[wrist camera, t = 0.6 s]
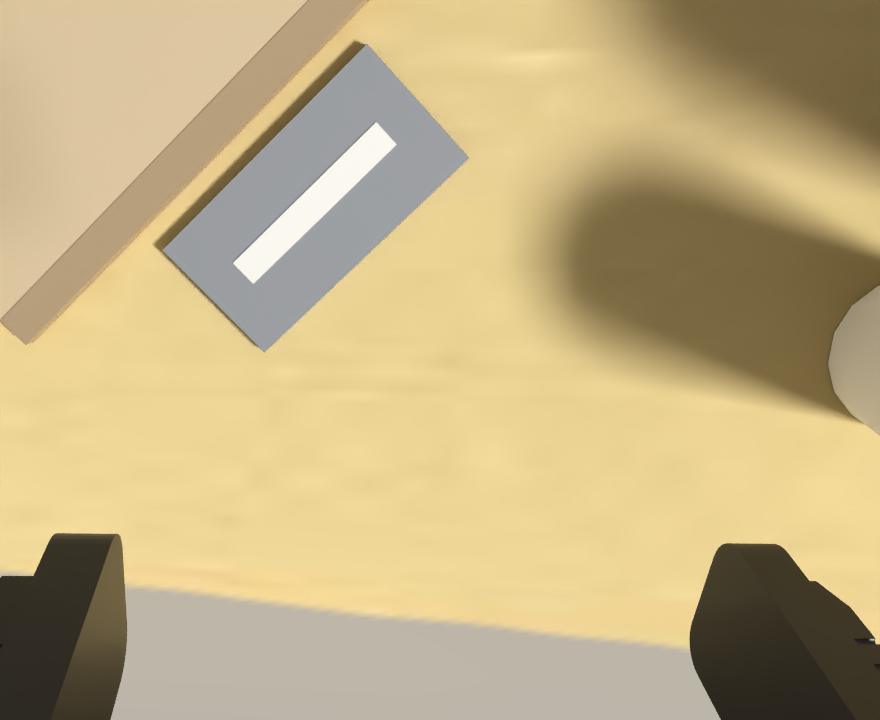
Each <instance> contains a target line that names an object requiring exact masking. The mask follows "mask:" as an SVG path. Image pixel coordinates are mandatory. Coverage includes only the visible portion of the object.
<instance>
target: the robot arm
mask: <svg viewBox="0 0 880 720" xmlns="http://www.w3.org/2000/svg"><path fill="white" fill-rule="evenodd" d="M125 602H126V601H125V584H124V568H123V551H122V542H121V538H120V536H119V535H118V534H70V533H57V534H54V535H53V536H52V538H51V539H50V541H49V543H48V545H47V547H46V550H45V552H44V554H43V556H42V558H41V561H40V563H39V565H38V567H37V570H36V572H35V574H34V576H2V577H1V578H0V720H110V719H111V715H112V711H113V707H114V704H115V700H116V697H117V693H118V689H119V685H120V682H121V677H122V673H123V668H124V662H125V654H126V643H127V618H126V603H125ZM690 651H691V657H692V661H693V665H694V667H695V670H696V672H697V674H698V676H699V678H700V680H701V682H702V684H703V686H704V688H705V690H706V692H707V694H708V696H709V698H710V699H711V701H712V703H713V705H714V707H715V709H716V711H717V713H718V715H719V717H720V718H721V720H880V644H876V643H875V638H874V636H873V635H872V634H871V633H870V631H869V630H868V629H867V628H866V626H865V625H864V624H863V623H862V621H861V620H860V619H859V618H858V616H857V615H856V614H855V613H854V611H853V610H852V609H851V608H850V607H849V606H848V605H846V604H845V603H844V602H842V601H841V600H840V599H839V598H837V597H836V596H835V595H833V594H832V593H831V592H829V591H828V590H827V589H825V588H824V587H823V586H822V585H820V584H819V583H818V582H816V581H809V580H808V579H807V577H806V576H805V575H804V573H803V572H802V571H801V570H800V568H799V567H798V566H797V564H796V563H795V562H794V560H793V559H792V558H791V557H790V555H789V554H788V553H787V552H786V550H785V549H784V548H782V547H781V546H779V545H777V544H732V543H727V544H723V545H721V546H720V547H719V548H718V550H717V551H716V553H715V556H714V558H713V561H712V564H711V567H710V570H709V573H708V576H707V579H706V582H705V585H704V588H703V591H702V594H701V597H700V600H699V603H698V606H697V609H696V612H695V615H694V618H693V621H692V625H691V630H690Z"/></svg>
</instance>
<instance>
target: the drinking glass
mask: <svg viewBox="0 0 880 720" xmlns="http://www.w3.org/2000/svg"><path fill="white" fill-rule="evenodd" d="M828 366H829V371H830V375H831V380H832V384H833V389H834V392H835V394H836V395H837V396H838V398H839V399H840V400H841V402H842V403H843V404H844V406H845V407H846V408H847V410H848V411H849V412H850V413H851V415H853V416H854V417H856V418H857V419H858V420H860V421H861V422H862V423H864V424H865V425H867V426H868V427H869V428H871V429H872V430H873V431H875V432H876V433H877V434H879V435H880V285H879V286H877V287H876V288H875V289H873V290H872V291H871V292H869V293H868V294H867V295H865V296H864V297H863V298H861V299H860V300H859V301H857V302H856V303H855V304H853V305H852V306H851V308H850V309H849V311H848V312H847V314H846V315H845V317H844V319H843V320H842V322H841V323H840V325H839V326H838V328H837V329H836V331H835V333H834V336H833V341H832V346H831V351H830V356H829V361H828Z"/></svg>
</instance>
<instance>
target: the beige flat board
mask: <svg viewBox="0 0 880 720" xmlns="http://www.w3.org/2000/svg"><path fill="white" fill-rule="evenodd" d="M368 1H369V0H0V321H1V322H2V323H3V324H4V325H5V326H6V327H7V328H8V329H9V330H10V331H11V332H12V333H14V334H15V335H16V336H17V337H18V338H19V339H20V340H21V341H22V342H23V343H24V344H25V345H27V344H29V343H32V342H34V341H35V340H36V339H37V338H38V337H39V336H40V335H41V334H42V333H43V332H44V331H45V330H46V329H47V328H48V327H49V326H50V325H51V324H52V323H53V322H54V321H55V320H56V319H57V318H58V317H59V316H60V315H61V314H62V313H63V312H64V311H65V310H66V309H67V308H68V307H69V306H70V305H71V304H72V302H73V301H74V300H75V299H76V298H77V297H78V296H79V295H80V294H81V293H82V292H83V291H84V290H85V289H86V288H87V287H88V286H89V285H90V284H91V283H92V282H93V281H94V280H95V279H96V278H97V277H98V276H99V275H100V274H101V273H102V272H103V271H104V270H105V269H106V268H107V267H108V266H109V265H110V264H111V263H112V262H113V261H114V260H115V259H116V258H117V257H118V256H119V255H120V254H121V253H122V251H123V250H124V249H125V248H126V247H127V246H128V245H129V244H130V243H131V242H132V241H133V240H134V239H135V238H136V237H137V236H138V235H139V234H140V233H141V232H142V231H143V230H144V229H145V228H146V227H147V226H148V225H149V224H150V223H151V222H152V221H153V220H154V219H155V218H156V217H157V216H158V215H159V214H160V213H161V212H162V211H163V210H164V209H165V208H166V207H167V206H168V205H169V204H170V203H171V202H172V200H173V199H174V198H175V197H176V196H177V195H178V194H179V193H180V192H181V191H182V190H183V189H184V188H185V187H186V186H187V185H188V184H189V183H190V182H191V181H192V180H193V179H194V178H195V177H196V176H197V175H198V174H199V173H200V172H201V171H202V170H203V169H204V168H205V167H206V166H207V165H208V164H209V163H210V162H211V161H212V160H213V159H214V158H215V157H216V156H217V155H218V154H219V153H220V152H221V151H222V150H223V148H224V147H225V146H226V145H227V144H228V143H229V142H230V141H231V140H232V139H233V138H234V137H235V136H236V135H237V134H238V133H239V132H240V131H241V130H242V129H243V128H244V127H245V126H246V125H247V124H248V123H249V122H250V121H251V120H252V119H253V118H254V117H255V116H256V115H257V114H258V113H259V112H260V111H261V110H262V109H263V108H264V107H265V106H266V105H267V104H268V103H269V102H270V101H271V100H272V99H273V97H274V96H275V95H276V94H277V93H278V92H279V91H280V90H281V89H282V88H283V87H284V86H285V85H286V84H287V83H288V82H289V81H290V80H291V79H292V78H293V77H294V76H295V75H296V74H297V73H298V72H299V71H300V70H301V69H302V68H303V67H304V66H305V65H306V64H307V63H308V62H309V61H310V60H311V59H312V58H313V57H314V56H315V55H316V54H317V53H318V52H319V51H320V50H321V49H322V48H323V47H324V45H325V44H326V43H327V42H328V41H329V40H330V39H331V38H332V37H333V36H334V35H335V34H336V33H337V32H338V31H339V30H340V29H341V28H342V27H343V26H344V25H345V24H346V23H347V22H348V21H349V20H350V19H351V18H352V17H353V16H354V15H355V14H356V13H357V12H358V11H359V10H360V9H361V8H362V7H363V6H364V5H365V4H366V3H367V2H368ZM467 159H469V157H468V156H467V155H466V154H465V153H464V152H463V151H462V149H461V148H460V147H459V146H458V145H457V144H456V143H455V142H454V140H453V139H452V138H451V137H450V136H449V135H448V134H447V133H446V132H445V130H444V129H443V128H442V127H441V126H440V125H439V124H438V123H437V121H436V120H435V119H434V118H433V117H432V116H431V115H430V114H429V113H428V111H427V110H426V109H425V108H424V107H423V106H422V105H421V104H420V102H419V101H418V100H417V99H416V98H415V97H414V96H413V95H412V94H411V92H410V91H409V90H408V89H407V88H406V87H405V86H404V85H403V83H402V82H401V81H400V80H399V79H398V78H397V77H396V76H395V75H394V73H393V72H392V71H391V70H390V69H389V68H388V67H387V66H386V64H385V63H384V62H383V61H382V60H381V59H380V58H379V57H378V56H377V54H376V53H375V52H374V51H373V50H372V49H371V48H370V47H369V46H368V44H366V45H365V46H364V47H363V48H362V49H361V50H360V51H359V52H358V53H357V54H356V55H355V56H354V57H353V58H352V60H351V61H350V62H349V63H348V64H347V65H346V66H345V67H344V68H343V69H342V70H341V71H340V72H339V73H338V74H337V75H336V76H335V77H334V78H333V79H332V80H331V81H330V82H329V83H328V84H327V85H326V86H325V87H324V88H323V89H322V90H321V91H320V92H319V93H318V94H317V95H316V96H315V97H314V98H313V99H312V100H311V101H310V102H309V103H308V104H307V105H306V106H305V107H304V108H303V109H302V110H301V111H300V112H299V113H298V114H297V115H296V116H295V117H294V118H293V119H292V120H291V121H290V122H289V123H288V124H287V125H286V126H285V127H284V128H283V129H282V130H281V131H280V132H279V133H278V134H277V135H276V136H275V137H274V138H273V139H272V140H271V141H270V142H269V143H268V144H267V145H266V146H265V147H264V148H263V149H262V150H261V151H260V152H259V153H258V154H257V155H256V156H255V157H254V158H253V159H252V160H251V161H250V162H249V163H248V164H247V165H246V166H245V167H244V168H243V169H242V170H241V171H240V172H239V173H238V174H237V175H236V176H235V177H234V178H233V179H232V180H231V182H230V183H229V184H228V185H227V186H226V187H225V188H224V189H223V190H222V191H221V192H220V193H219V194H218V195H217V196H216V197H215V198H214V199H213V200H212V201H211V202H210V203H209V204H208V205H207V206H206V207H205V208H204V209H203V210H202V211H201V212H200V213H199V214H198V215H197V216H196V217H195V218H194V219H193V220H192V221H191V222H190V223H189V224H188V225H187V226H186V227H185V228H184V229H183V230H182V231H181V232H180V233H179V234H178V235H177V236H176V237H175V238H174V239H173V240H172V241H171V242H170V243H169V244H168V245H167V246H166V247H165V248H164V249H163V250H162V251H163V252H164V253H165V254H166V255H167V256H168V257H169V258H170V259H171V260H172V261H173V262H174V263H175V264H176V265H177V266H178V267H179V268H180V269H181V270H182V271H183V272H184V273H185V274H186V275H187V276H188V277H189V278H190V279H191V280H192V281H193V282H194V283H195V284H196V285H197V286H198V287H199V288H200V289H201V290H202V291H203V292H204V293H205V294H206V295H207V296H208V297H209V298H210V299H211V300H212V301H213V302H214V303H215V304H216V305H217V306H218V307H219V308H220V309H221V310H222V311H223V312H224V313H225V314H226V315H227V316H228V317H229V318H230V319H231V320H232V321H233V322H234V323H235V324H236V325H237V326H238V327H239V328H240V329H241V330H242V331H243V332H244V333H245V334H246V335H247V336H248V337H249V338H250V339H251V340H252V341H253V342H254V343H255V344H256V345H257V346H258V347H259V348H260V349H261V350H262V351H263V352H265V351H266V350H267V349H268V348H269V347H271V346H272V345H273V344H274V343H275V342H276V341H277V340H278V339H279V338H280V337H281V336H282V335H283V334H284V333H285V332H286V331H287V330H288V329H290V328H291V327H292V326H293V325H294V324H295V323H296V322H297V321H298V320H299V319H300V318H301V317H302V316H303V315H304V314H305V313H306V312H307V311H308V310H310V309H311V308H312V307H313V306H314V305H315V304H316V303H317V302H318V301H319V300H320V299H321V298H322V297H323V296H324V295H325V294H326V293H327V292H328V291H330V290H331V289H332V288H333V287H334V286H335V285H336V284H337V283H338V282H339V281H340V280H341V279H342V278H343V277H344V276H345V275H346V274H347V273H348V272H350V271H351V270H352V269H353V268H354V267H355V266H356V265H357V264H358V263H359V262H360V261H361V260H362V259H363V258H364V257H365V256H366V255H367V254H368V253H370V252H371V251H372V250H373V249H374V248H375V247H376V246H377V245H378V244H379V243H380V242H381V241H382V240H383V239H384V238H385V237H386V236H387V235H388V234H390V233H391V232H392V231H393V230H394V229H395V228H396V227H397V226H398V225H399V224H400V223H401V222H402V221H403V220H404V219H405V218H406V217H407V216H408V215H410V214H411V213H412V212H413V211H414V210H415V209H416V208H417V207H418V206H419V205H420V204H421V203H422V202H423V201H424V200H425V199H426V198H427V197H429V196H430V195H431V194H432V193H433V192H434V191H435V190H436V189H437V188H438V187H439V186H440V185H441V184H442V183H443V182H444V181H445V180H446V179H447V178H449V177H450V176H451V175H452V174H453V173H454V172H455V171H456V170H457V169H458V168H459V167H460V166H461V165H462V164H463V163H464V162H465V161H466V160H467Z"/></svg>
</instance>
